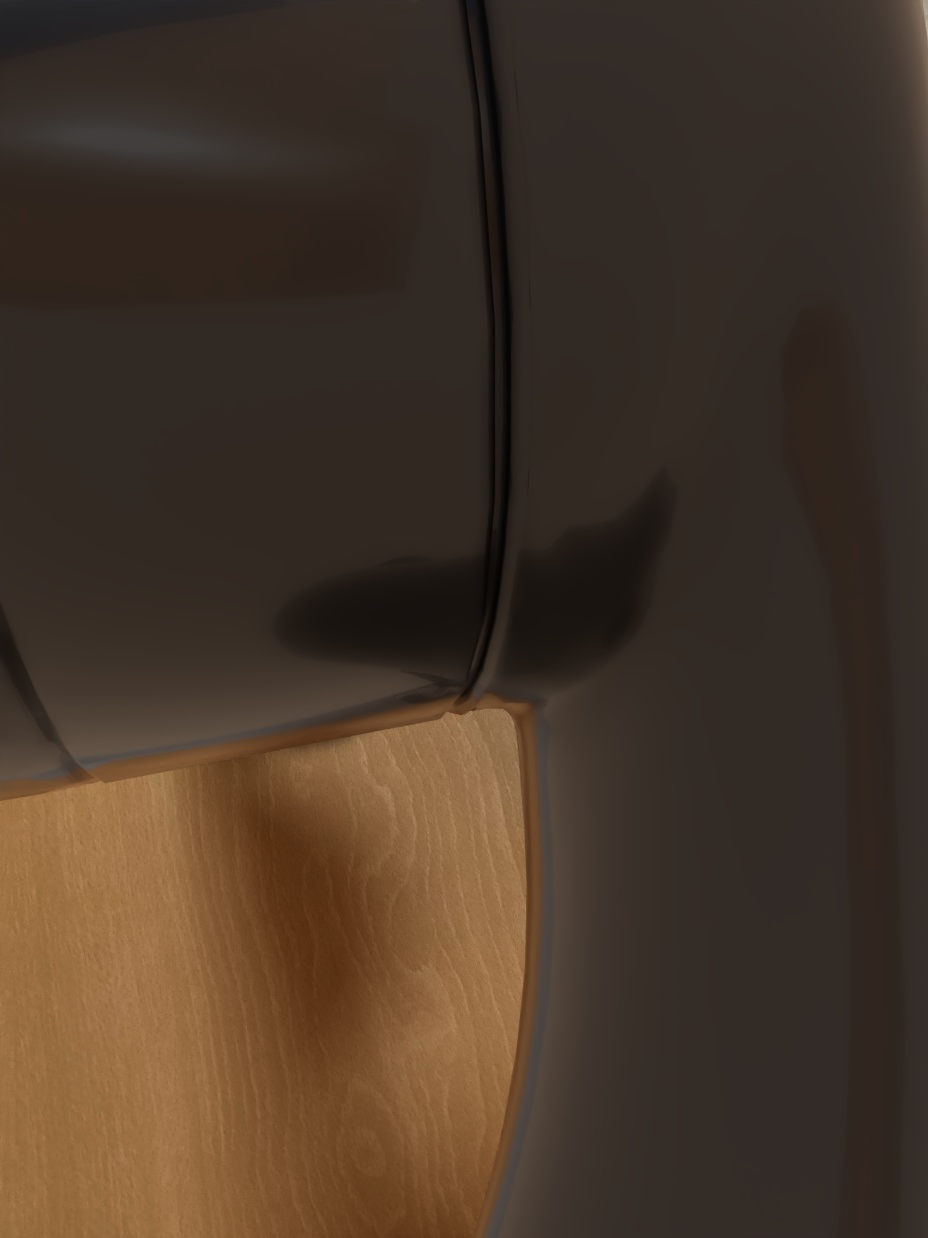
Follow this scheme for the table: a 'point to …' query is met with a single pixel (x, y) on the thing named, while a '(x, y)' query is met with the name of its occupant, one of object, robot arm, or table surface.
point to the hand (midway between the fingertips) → (713, 1179)
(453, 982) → the table surface
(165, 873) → the table surface
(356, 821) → the table surface
